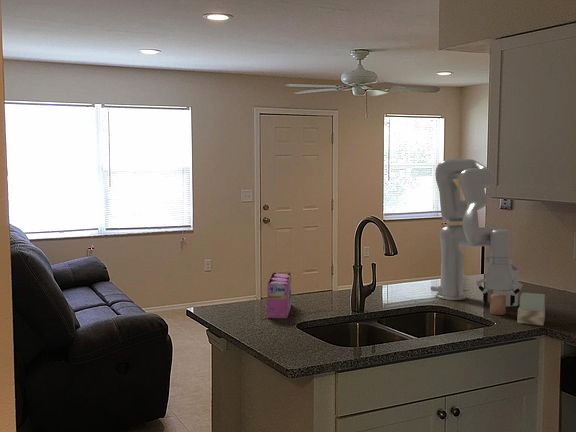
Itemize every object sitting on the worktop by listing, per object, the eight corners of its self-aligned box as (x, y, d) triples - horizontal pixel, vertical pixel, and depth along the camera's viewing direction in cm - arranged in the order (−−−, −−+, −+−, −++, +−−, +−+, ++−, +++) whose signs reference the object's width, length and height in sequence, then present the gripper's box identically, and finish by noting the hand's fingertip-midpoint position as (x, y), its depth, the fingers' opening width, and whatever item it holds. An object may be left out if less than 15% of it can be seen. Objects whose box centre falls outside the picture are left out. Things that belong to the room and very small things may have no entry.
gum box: (273, 304, 274) (273, 271, 273) (292, 304, 273) (292, 272, 272) (266, 318, 250) (266, 283, 249) (287, 318, 250) (287, 283, 248)
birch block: (517, 323, 244) (517, 310, 244) (519, 317, 253) (520, 305, 252) (543, 326, 241) (543, 312, 240) (544, 320, 249) (545, 307, 248)
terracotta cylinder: (488, 313, 258) (489, 296, 257) (490, 310, 263) (491, 293, 263) (504, 315, 255) (505, 297, 255) (506, 312, 261) (507, 294, 260)
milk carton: (502, 307, 269) (504, 261, 267) (492, 303, 276) (494, 258, 274) (517, 306, 271) (519, 260, 269) (507, 302, 278) (509, 258, 276)
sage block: (519, 309, 245) (520, 296, 244) (521, 305, 252) (522, 292, 251) (542, 312, 241) (543, 298, 241) (544, 307, 248) (544, 294, 248)
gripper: (475, 260, 257) (474, 304, 259) (522, 263, 250) (521, 307, 251) (478, 258, 264) (477, 300, 266) (523, 260, 257) (522, 304, 258)
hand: (498, 304), depth 259 cm, fingers open, 9 cm apart
